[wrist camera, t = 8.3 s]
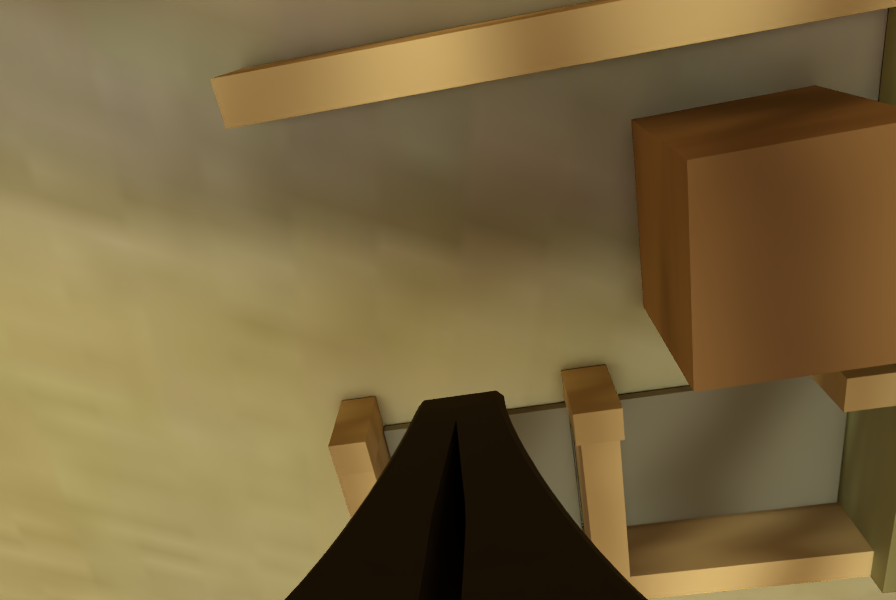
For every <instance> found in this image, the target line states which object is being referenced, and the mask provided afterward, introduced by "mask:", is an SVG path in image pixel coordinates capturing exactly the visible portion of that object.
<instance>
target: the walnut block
mask: <svg viewBox="0 0 896 600" xmlns="http://www.w3.org/2000/svg"><path fill="white" fill-rule="evenodd" d="M632 135H633V150H634V166H635V181H636V196H637V212H638V227H639V243H640V258H641V273H642V289H643V304H644V308H645V310H646V312H647V313H648V315H649V317H650V318H651V320H652V322H653V323H654V325H655V327H656V329H657V330H658V332H659V334H660V335H661V337H662V339H663V341H664V342H665V344H666V346H667V347H668V349H669V351H670V352H671V354H672V356H673V358H674V359H675V361H676V363H677V364H678V366H679V368H680V370H681V371H682V373H683V375H684V376H685V378H686V380H687V381H688V383H689V385H690V387H691V388H692V390H693V392H699V391H706V390H713V389H720V388H727V387H734V386H741V385H748V384H755V383H762V382H769V381H776V380H783V379H790V378H797V377H804V376H811V375H818V374H825V373H831V372H838V371H845V370H852V369H859V368H866V367H873V366H880V365H887V364H894V363H896V106H894V105H890V104H886V103H882V102H878V101H874V100H870V99H866V98H862V97H858V96H855V95H851V94H847V93H843V92H839V91H835V90H831V89H827V88H823V87H819V86H810V87H804V88H799V89H794V90H788V91H783V92H778V93H772V94H767V95H761V96H756V97H751V98H745V99H740V100H735V101H729V102H724V103H718V104H713V105H708V106H702V107H697V108H692V109H686V110H681V111H675V112H670V113H665V114H659V115H654V116H649V117H643V118H638V119H633V120H632Z"/></svg>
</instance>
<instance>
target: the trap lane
mask: <svg viewBox="0 0 896 600" xmlns="http://www.w3.org/2000/svg"><path fill="white" fill-rule="evenodd" d="M885 8H889V12H888V21H887V30H886V39H885V48H884V58H883V67H882V76H881V85H880V94H879V102H882V103H886V104H890V105H894V106H896V0H596V1H591V2H586V3H581V4H576V5H570V6H565V7H560V8H555V9H550V10H544V11H539V12H534V13H529V14H523V15H518V16H513V17H508V18H503V19H497V20H492V21H487V22H482V23H477V24H471V25H466V26H461V27H456V28H451V29H445V30H440V31H435V32H430V33H425V34H419V35H414V36H409V37H404V38H399V39H393V40H388V41H383V42H378V43H372V44H367V45H362V46H357V47H352V48H346V49H341V50H336V51H331V52H326V53H320V54H315V55H310V56H305V57H300V58H294V59H289V60H284V61H279V62H274V63H268V64H263V65H258V66H253V67H247V68H242V69H239V70H236V71H233V72H230V73H227V74H224V75H221V76H218V77H215V78H212V79H210V80H211V84H212V87H213V90H214V93H215V96H216V99H217V102H218V105H219V108H220V112H221V115H222V118H223V121H224V124H225V127H226V129H229V128H234V127H240V126H245V125H251V124H256V123H262V122H267V121H273V120H278V119H284V118H289V117H294V116H300V115H305V114H311V113H316V112H322V111H327V110H333V109H338V108H344V107H349V106H355V105H360V104H366V103H371V102H376V101H382V100H387V99H393V98H398V97H404V96H409V95H415V94H420V93H426V92H431V91H437V90H442V89H447V88H453V87H458V86H464V85H469V84H475V83H480V82H486V81H491V80H497V79H502V78H508V77H513V76H519V75H524V74H529V73H535V72H540V71H546V70H551V69H557V68H562V67H568V66H573V65H579V64H584V63H590V62H595V61H601V60H606V59H611V58H617V57H622V56H628V55H633V54H639V53H644V52H650V51H655V50H661V49H666V48H672V47H677V46H683V45H688V44H693V43H699V42H704V41H710V40H715V39H721V38H726V37H732V36H737V35H743V34H748V33H754V32H759V31H765V30H770V29H775V28H781V27H786V26H792V25H797V24H803V23H808V22H814V21H819V20H825V19H830V18H836V17H841V16H847V15H852V14H857V13H863V12H868V11H874V10H879V9H885ZM561 372H562V381H563V389H564V398H565V402H564V403H556V404H549V405H541V406H534V407H526V408H518V409H511V410H507V412H508V415H509V417H510V420H511V422H512V424H513V426H514V428H515V430H516V432H517V435H518V437H519V439H520V440H521V442H522V444H523V446H524V448H525V449H526V451H527V453H528V454H529V456H530V458H531V459H532V461H533V463H534V464H535V466H536V468H537V469H538V471H539V472H540V474H541V475H542V477H543V478H544V480H545V481H546V483H547V484H548V486H549V487H550V489H551V490H552V492H553V493H554V494H555V496H556V497H557V498H558V500H559V501H560V503H561V504H562V505H563V507H564V508H565V509H566V511H567V512H568V513H569V515H570V516H571V517H572V518H573V520H574V521H575V522H576V523H577V525H578V526H579V527H580V528H581V530H582V531H583V532H584V533H585V534H586V535H587V537H588V538H589V539H590V540H591V541H592V542H593V544H594V545H595V546H596V547H597V548H598V549H599V551H600V552H601V553H602V554H603V555H604V556H605V557H606V558H607V559H608V560H609V561H610V562H611V564H612V565H613V566H614V567H615V568H616V569H617V570H618V571H619V572H620V573H621V574H622V575H623V576H624V577H625V578H626V579H627V580H628V581H629V582H630V583H631V584H632V585H633V586H634V587H635V588H636V589H637V590H638V591H639V592H640V593H641V594H642V595H643V596H644V597H645V598H646V599H651V598H660V597H670V596H680V595H690V594H700V593H709V592H719V591H729V590H739V589H749V588H759V587H768V586H778V585H788V584H798V583H808V582H817V581H827V580H837V579H847V578H857V577H866V576H871V578H872V579H873V580H874V582H875V583H876V585H877V586H878V588H879V589H880V590H881V592H882V593H890V592H896V363H894V364H887V365H880V366H873V367H866V368H859V369H852V370H845V371H838V372H831V373H825V374H818V375H811V376H804V377H797V378H790V379H783V380H776V381H769V382H762V383H755V384H748V385H741V386H734V387H727V388H720V389H713V390H706V391H699V392H693V390H692V388H691V387H690V386H684V387H677V388H669V389H662V390H654V391H647V392H639V393H631V394H624V395H617V392H616V390H615V387H614V385H613V382H612V379H611V377H610V374H609V372H608V369H607V367H606V365H601V366H593V367H586V368H579V369H572V370H564V371H561ZM569 419H570V422H569ZM570 423H571V427H572V431H573V438H574V447H575V455H576V464H577V473H578V482H579V490H580V499H581V508H582V517H583V525H584V527H582V525H581V517H580V508H579V500H578V491H577V482H576V474H575V465H574V457H573V448H572V439H571V431H570ZM409 425H410V423H405V424H398V425H390V426H385V427H383V423H382V420H381V416H380V412H379V409H378V405H377V401H376V398H375V397H368V398H361V399H353V400H346V401H342V403H341V406H340V409H339V413H338V416H337V419H336V423H335V426H334V429H333V433H332V436H331V439H330V443H329V446H328V447H329V450H330V454H331V457H332V460H333V463H334V466H335V469H336V472H337V475H338V478H339V482H340V485H341V488H342V491H343V494H344V497H345V500H346V503H347V506H348V510H349V513H350V516H351V518H352V517H353V515H354V514H355V512H356V511H357V510H358V508H359V507H360V505H361V504H362V502H363V501H364V500H365V498H366V497H367V495H368V494H369V492H370V491H371V489H372V488H373V486H374V485H375V483H376V481H377V480H378V478H379V477H380V475H381V473H382V472H383V470H384V468H385V467H386V465H387V464H388V462H389V460H390V459H391V457H392V455H393V454H394V452H395V450H396V448H397V447H398V445H399V443H400V441H401V440H402V438H403V436H404V434H405V432H406V431H407V429H408V427H409Z"/></svg>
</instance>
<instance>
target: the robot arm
mask: <svg viewBox="0 0 896 600" xmlns="http://www.w3.org/2000/svg"><path fill="white" fill-rule="evenodd" d="M285 600H648V599H646V598H645V597H644V596H643V595H642V594H641V593H640V592H639V591H638V590H637V589H636V588H635V587H634V586H633V585H632V584H631V583H630V582H629V581H628V580H627V579H626V578H625V577H624V576H623V575H622V574H621V573H620V572H619V571H618V570H617V569H616V568H615V567H614V566H613V565H612V564H611V562H610V561H609V560H608V559H607V558H606V557H605V556H604V555H603V554H602V553H601V552H600V551H599V549H598V548H597V547H596V546H595V545H594V544H593V542H592V541H591V540H590V539H589V538H588V537H587V535H586V534H585V533H584V532H583V531H582V530H581V528H580V527H579V526H578V525H577V523H576V522H575V521H574V520H573V518H572V517H571V516H570V515H569V513H568V512H567V511H566V509H565V508H564V507H563V505H562V504H561V503H560V501H559V500H558V498H557V497H556V496H555V494H554V493H553V492H552V490H551V489H550V487H549V486H548V484H547V483H546V481H545V480H544V478H543V477H542V475H541V474H540V472H539V471H538V469H537V468H536V466H535V464H534V463H533V461H532V459H531V458H530V456H529V454H528V453H527V451H526V449H525V448H524V446H523V444H522V442H521V440H520V439H519V437H518V435H517V432H516V430H515V428H514V426H513V424H512V422H511V420H510V417H509V415H508V412H507V409H506V405H505V400H504V396H503V395H502V394H500V393H499V392H497V391H490V392H483V393H475V394H468V395H461V396H454V397H446V398H439V399H432V400H424V401H423V402H422V404H421V405H420V406H419V408H418V409H417V411H416V413H415V415H414V417H413V419H412V421H411V423H410V425H409V427H408V429H407V431H406V432H405V434H404V436H403V438H402V440H401V441H400V443H399V445H398V447H397V448H396V450H395V452H394V454H393V455H392V457H391V459H390V460H389V462H388V464H387V465H386V467H385V468H384V470H383V472H382V473H381V475H380V477H379V478H378V480H377V481H376V483H375V485H374V486H373V488H372V489H371V491H370V492H369V494H368V495H367V497H366V498H365V500H364V501H363V502H362V504H361V505H360V507H359V508H358V510H357V511H356V512H355V514H354V515H353V517H352V518H351V519H350V521H349V522H348V524H347V525H346V527H345V528H344V529H343V531H342V532H341V533H340V535H339V536H338V537H337V539H336V540H335V541H334V543H333V544H332V545H331V546H330V548H329V549H328V550H327V551H326V553H325V554H324V555H323V556H322V558H321V559H320V560H319V561H318V562H317V564H316V565H315V566H314V567H313V568H312V570H311V571H310V572H309V573H308V574H307V576H306V577H305V578H304V579H303V580H302V581H301V582H300V584H299V585H298V586H297V587H296V588H295V589H294V590H293V591H292V592H291V593H290V594H289V596H288V597H287V598H286V599H285Z"/></svg>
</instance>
